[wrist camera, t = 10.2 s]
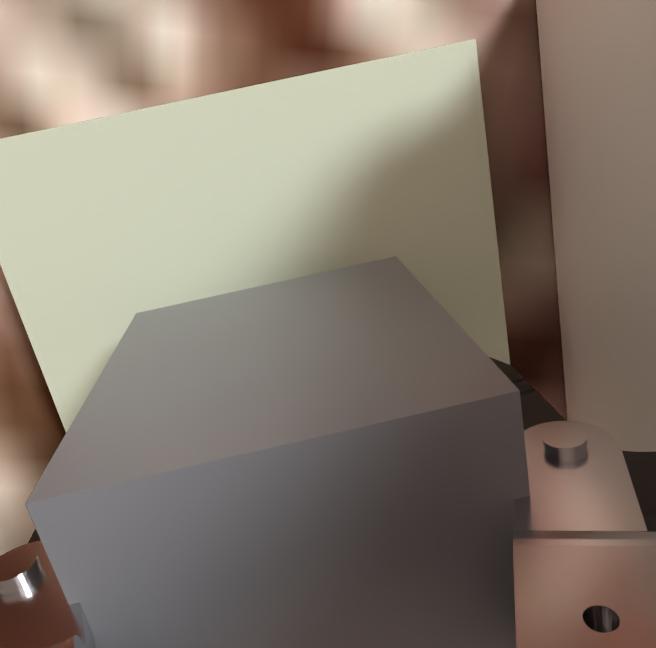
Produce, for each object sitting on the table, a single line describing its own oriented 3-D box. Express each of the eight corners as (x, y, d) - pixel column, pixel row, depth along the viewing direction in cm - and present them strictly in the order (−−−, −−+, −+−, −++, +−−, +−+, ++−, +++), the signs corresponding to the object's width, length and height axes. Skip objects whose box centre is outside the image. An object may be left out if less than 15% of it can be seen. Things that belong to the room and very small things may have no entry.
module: (395, 256, 12) (519, 390, 6) (431, 476, 14) (553, 737, 8) (136, 313, 12) (25, 503, 6) (205, 529, 13) (168, 833, 8)
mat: (465, 41, 13) (475, 39, 12) (520, 527, 17) (529, 541, 16) (-32, 146, 12) (-46, 148, 12) (148, 615, 16) (144, 634, 16)
